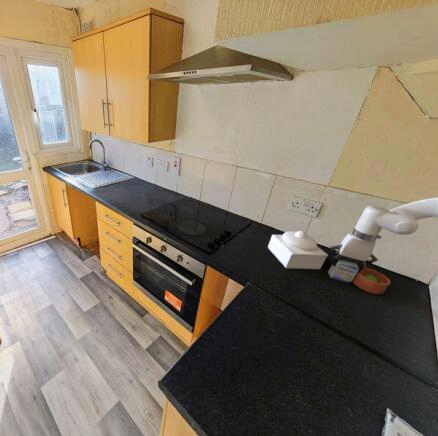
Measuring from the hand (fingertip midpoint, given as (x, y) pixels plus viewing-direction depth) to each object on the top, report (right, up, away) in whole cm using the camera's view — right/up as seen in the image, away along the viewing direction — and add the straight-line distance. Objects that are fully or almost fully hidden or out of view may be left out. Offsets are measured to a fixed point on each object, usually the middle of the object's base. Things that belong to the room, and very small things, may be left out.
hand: (344, 267), depth 103 cm
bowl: (+9, -8, -1) cm, 12 cm away
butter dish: (-14, +2, +15) cm, 21 cm away
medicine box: (0, -6, +3) cm, 6 cm away
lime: (+9, -5, -2) cm, 11 cm away
